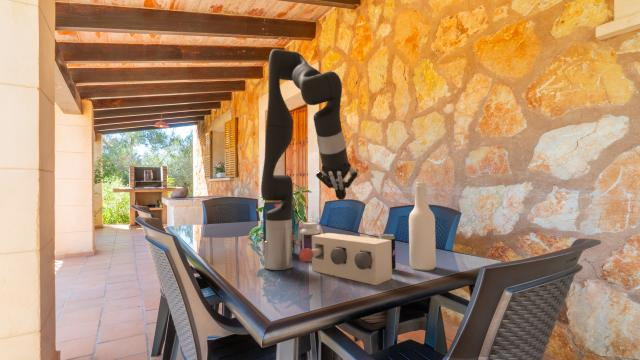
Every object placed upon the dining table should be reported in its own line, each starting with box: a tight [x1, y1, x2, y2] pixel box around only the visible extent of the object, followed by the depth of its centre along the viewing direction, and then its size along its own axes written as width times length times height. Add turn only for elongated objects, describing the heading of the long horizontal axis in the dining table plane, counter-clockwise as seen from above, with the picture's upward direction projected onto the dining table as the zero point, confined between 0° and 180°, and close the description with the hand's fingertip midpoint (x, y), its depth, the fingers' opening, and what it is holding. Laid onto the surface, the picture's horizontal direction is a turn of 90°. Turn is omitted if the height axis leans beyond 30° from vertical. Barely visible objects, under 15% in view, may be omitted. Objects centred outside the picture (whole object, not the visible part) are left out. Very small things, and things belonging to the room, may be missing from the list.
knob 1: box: [331, 248, 347, 265], centre depth 111 cm, size 9×5×5 cm, turn 137°
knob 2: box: [354, 251, 372, 269], centre depth 105 cm, size 9×5×5 cm, turn 137°
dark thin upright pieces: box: [262, 200, 296, 255], centre depth 147 cm, size 6×12×25 cm, turn 114°
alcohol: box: [408, 181, 437, 272], centre depth 121 cm, size 9×9×30 cm
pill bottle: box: [299, 221, 321, 262], centre depth 136 cm, size 8×8×14 cm
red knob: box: [298, 247, 324, 263], centre depth 114 cm, size 9×4×4 cm, turn 137°
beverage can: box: [377, 233, 397, 272], centre depth 118 cm, size 6×6×12 cm
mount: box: [311, 232, 393, 286], centre depth 113 cm, size 9×26×12 cm, turn 47°
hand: (341, 198), depth 104 cm, fingers closed
